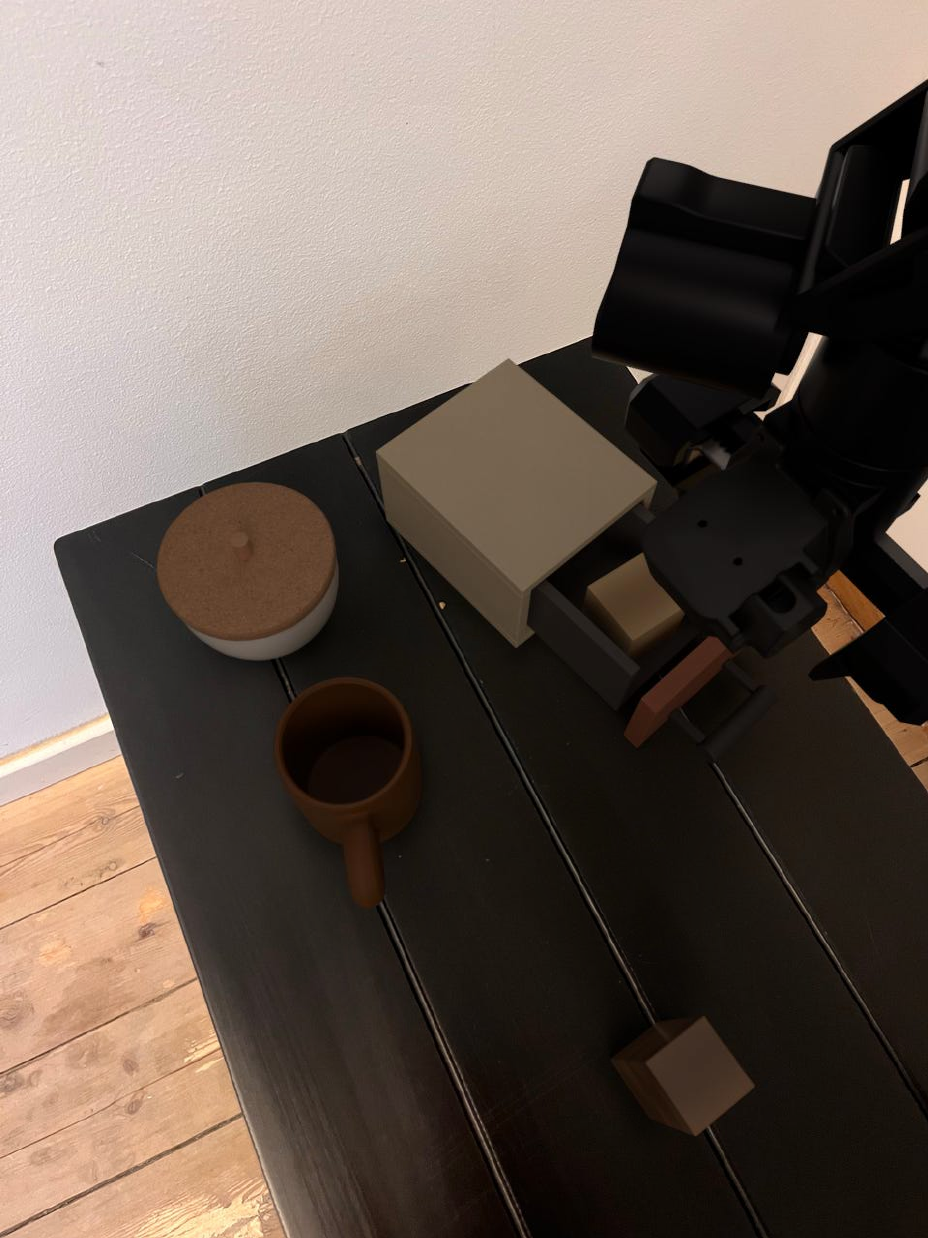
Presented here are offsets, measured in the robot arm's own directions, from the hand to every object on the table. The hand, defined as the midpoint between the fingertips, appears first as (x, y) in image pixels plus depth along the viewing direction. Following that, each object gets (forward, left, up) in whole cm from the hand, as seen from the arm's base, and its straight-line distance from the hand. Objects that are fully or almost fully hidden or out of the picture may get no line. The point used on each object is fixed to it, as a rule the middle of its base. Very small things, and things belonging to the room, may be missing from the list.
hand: (754, 605), depth 45 cm
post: (-15, +16, -13) cm, 26 cm away
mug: (+5, +22, -13) cm, 26 cm away
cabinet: (+17, +3, -13) cm, 21 cm away
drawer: (+4, +1, -12) cm, 13 cm away
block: (+6, +2, -11) cm, 12 cm away
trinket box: (+21, +20, -13) cm, 32 cm away
